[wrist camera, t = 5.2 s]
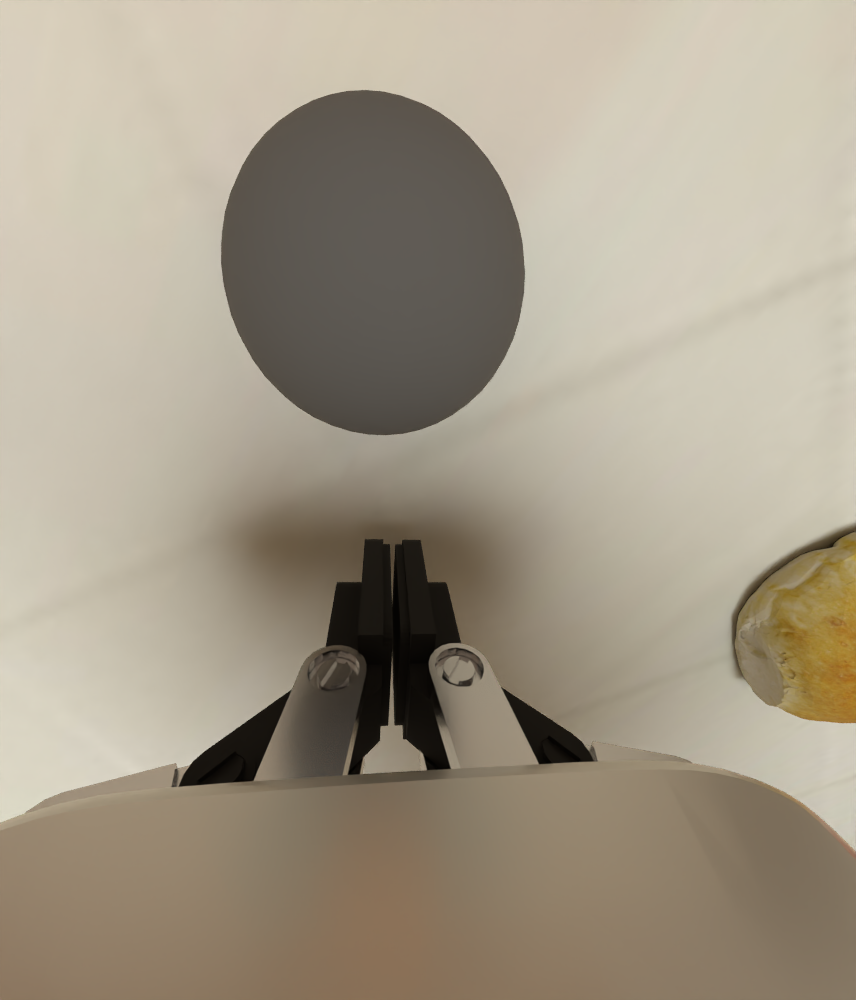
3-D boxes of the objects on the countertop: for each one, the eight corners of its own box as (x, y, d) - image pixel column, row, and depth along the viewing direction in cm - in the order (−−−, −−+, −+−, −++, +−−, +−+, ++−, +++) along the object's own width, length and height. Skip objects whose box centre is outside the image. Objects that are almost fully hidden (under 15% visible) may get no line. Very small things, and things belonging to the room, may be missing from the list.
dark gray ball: (474, -111, 5) (439, 200, 10) (57, 59, 5) (245, 284, 10) (641, 307, 5) (522, 396, 11) (258, 478, 5) (335, 479, 11)
